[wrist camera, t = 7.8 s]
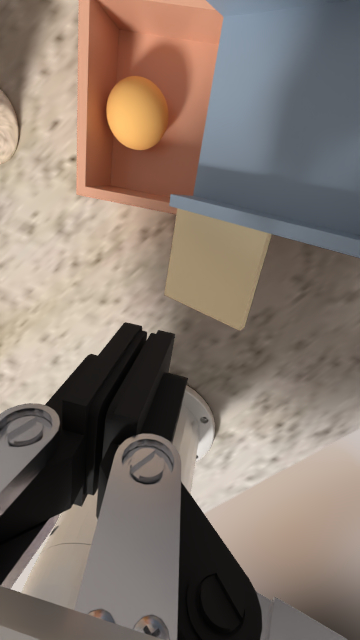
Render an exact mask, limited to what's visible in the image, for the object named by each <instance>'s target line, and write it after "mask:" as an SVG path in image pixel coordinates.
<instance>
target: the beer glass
mask: <svg viewBox="0 0 360 640" xmlns="http://www.w3.org/2000/svg"><path fill="white" fill-rule="evenodd" d="M18 137H19V129H18V122H17V118H16V114H15V111H14V109H13V107H12V104H11V103H10V101H9V99H8V98H7V96H6V95H5V94H4V92H3V91H2V90H1V89H0V164H3V163H5V162H6V161H8V160H9V159H10V158H11V157H12V155H13V154H14V152H15V150H16V147H17V143H18Z"/></svg>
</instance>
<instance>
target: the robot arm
mask: <svg viewBox="0 0 360 640" xmlns="http://www.w3.org/2000/svg"><path fill="white" fill-rule="evenodd" d="M174 338H175V334H173V333H168V332H164V331H160V330H158V332H157V334H154V333H151V334H150V336H149V337H148V339H147V332H145V331H142V326H139V325H135V324H130V323H126V322H125V323H124V324H123V325H122V326H121V328H120V329H119V330H118V331H117V333H116V334H115V335H114V336H113V338H112V339H111V340H110V341H109V343H108V344H107V345H106V346H105V348H104V349H103V350H102V351H101V353H100V354H99V355H98V356H97V355H93V354H90V355H88V356H87V357H86V358H85V359H84V360H83V362H82V363H81V364H80V365H79V366H78V367H77V369H76V370H75V371H74V372H73V373H72V374H71V375H70V377H69V378H68V379H67V380H66V381H65V382H64V384H63V385H62V386H61V387H60V388H59V389H58V391H57V392H56V393H55V394H54V395H53V396H52V397H51V399H50V400H49V401H48V402H47V403H46V404H45V405H42V404H31V403H29V404H23V405H18V406H15V407H12V408H10V409H7V410H6V411H4V412H2V413H1V414H0V640H347V639H346V638H344V637H342V636H340V635H339V634H337V633H335V632H334V631H332V630H330V629H329V628H327V627H325V626H324V625H322V624H320V623H319V622H317V621H315V620H314V619H312V618H310V617H308V616H307V615H305V614H303V613H302V612H300V611H298V610H297V609H295V608H293V607H292V606H290V605H288V604H286V603H285V602H283V601H281V600H280V599H278V598H276V597H274V598H273V600H272V601H271V600H269V599H268V598H266V597H264V596H263V595H261V594H259V593H257V592H256V591H255V589H254V587H253V586H252V584H251V582H250V580H249V578H248V577H247V575H246V574H245V572H244V571H243V570H242V568H241V567H240V565H239V564H238V562H237V561H236V559H235V558H234V557H233V555H232V554H231V552H230V551H229V549H228V548H227V547H226V545H225V544H224V543H223V541H222V539H221V538H220V537H219V535H218V534H217V532H216V531H215V529H214V528H213V526H212V525H211V524H210V522H209V521H208V519H207V518H206V516H205V515H204V513H203V512H202V511H201V509H200V508H199V506H198V505H197V503H196V502H195V500H194V499H193V498H192V496H191V495H190V494H191V487H192V481H193V475H194V468H195V462H197V461H199V460H200V459H201V458H203V457H204V456H205V455H206V454H207V452H208V451H209V450H210V448H211V446H212V444H213V440H214V433H215V422H214V418H213V414H212V412H211V410H210V408H209V406H208V405H207V403H206V402H205V400H204V399H203V398H202V397H201V396H200V395H199V394H198V393H197V392H196V391H195V390H193V389H192V388H190V387H189V386H187V385H186V384H187V380H188V378H186V377H182V376H178V375H174V374H170V373H168V371H169V365H170V360H171V355H172V349H173V344H174ZM146 339H147V341H146ZM60 513H62V514H61V516H60V518H59V514H60ZM58 518H59V520H58ZM57 520H58V521H57ZM56 522H57V523H56ZM55 524H56V525H55ZM54 526H55V527H54ZM53 527H54V529H53ZM52 529H53V531H52V533H51V535H50V536H49V538H48V540H47V542H46V544H45V546H44V548H43V550H42V552H41V553H40V555H39V557H38V559H37V561H36V563H35V565H34V567H33V569H32V571H31V573H30V575H29V576H28V579H27V581H26V583H25V585H24V587H23V590H22V593H20V592H17V591H14V590H11V587H12V586H13V584H14V583H15V581H16V580H17V579H18V577H19V576H20V574H21V573H22V571H23V570H24V569H25V567H26V566H27V564H28V563H29V561H30V560H31V559H32V557H33V556H34V554H35V553H36V552H37V550H38V549H39V547H40V546H41V544H42V543H43V542H44V540H45V539H46V537H47V536H48V534H49V533H50V532H51V530H52Z"/></svg>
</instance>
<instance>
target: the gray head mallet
mask: <svg viewBox="0 0 360 640" xmlns="http://www.w3.org/2000/svg"><path fill="white" fill-rule="evenodd" d="M206 1H207V2H208V3H209V4H210V5H211V6H212V7H213V8H215V9H216V10H217V11H218V12H219V13H220V14H221V15H222V16H223V17H224V18H223V23H222V29H221V35H220V41H219V47H218V53H217V59H216V64H215V70H214V76H213V82H212V88H211V94H210V100H209V105H208V111H207V117H206V123H205V129H204V135H203V140H202V146H201V152H200V158H199V164H198V170H197V176H196V181H195V187H194V193H193V196H189V195H176V194H171V196H170V203H169V206H171V207H175V208H177V214H176V221H175V227H174V234H173V240H172V247H171V254H170V260H169V267H168V273H167V280H166V286H165V293H164V295H165V296H168V297H170V298H172V299H174V300H176V301H178V302H180V303H182V304H184V305H186V306H189V307H191V308H193V309H195V310H197V311H199V312H201V313H203V314H205V315H207V316H210V317H212V318H214V319H216V320H218V321H220V322H222V323H224V324H226V325H228V326H231V327H233V328H235V329H237V330H239V331H240V330H242V329H243V328H244V327H245V324H246V321H247V317H248V314H249V310H250V307H251V304H252V300H253V297H254V293H255V290H256V287H257V283H258V280H259V276H260V273H261V270H262V266H263V263H264V259H265V256H266V253H267V249H268V246H269V242H270V239H271V236H272V234H273V235H277V236H281V237H284V238H288V239H292V240H295V241H299V242H303V243H306V244H310V245H314V246H317V247H321V248H325V249H328V250H332V251H336V252H339V253H343V254H347V255H350V256H354V257H358V258H360V0H206Z"/></svg>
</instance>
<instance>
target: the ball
mask: <svg viewBox="0 0 360 640" xmlns="http://www.w3.org/2000/svg"><path fill="white" fill-rule="evenodd" d="M106 112H107V120H108V124H109V126H110V129H111V131H112V133H113V134H114V136H115V137H116V138H117V140H119V141H120V142H121V143H122V144H123V145H125V146H126V147H128V148H131V149H134V150H145V149H149V148H151V147H153V146H154V145H156V144H157V143H158V142H159V141H160V140H161V139H162V137H163V135H164V134H165V131H166V128H167V125H168V107H167V103H166V100H165V98H164V95H163V94H162V92H161V91H160V89H159V88H158V87H157V86H156V85H155V84H154V83H153V82H152V81H150V80H148V79H146V78H144V77H140V76H130V77H126V78H124V79H122V80H121V81H119V82H118V83H117V84H116V85H115V86H114V87H113V89H112V90H111V92H110V95H109V97H108V101H107V108H106Z"/></svg>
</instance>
